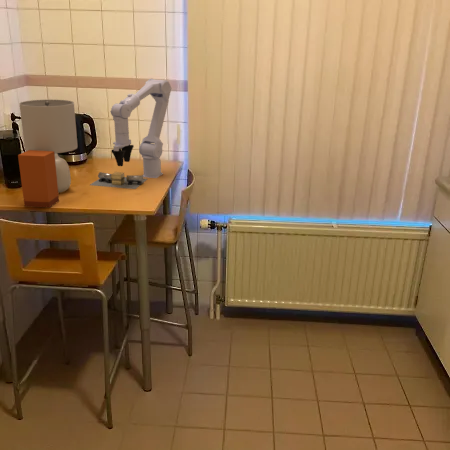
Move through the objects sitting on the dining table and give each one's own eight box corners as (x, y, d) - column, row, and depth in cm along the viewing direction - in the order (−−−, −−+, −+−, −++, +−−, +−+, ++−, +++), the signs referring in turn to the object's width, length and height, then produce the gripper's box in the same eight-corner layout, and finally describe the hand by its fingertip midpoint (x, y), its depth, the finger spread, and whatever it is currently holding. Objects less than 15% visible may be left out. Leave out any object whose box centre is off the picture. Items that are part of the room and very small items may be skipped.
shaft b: (126, 186, 216) (126, 176, 215) (127, 183, 220) (127, 174, 218) (142, 186, 217) (142, 176, 215) (143, 183, 220) (143, 174, 219)
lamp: (28, 199, 196) (16, 105, 183) (32, 185, 214) (21, 98, 201) (81, 196, 201) (73, 104, 188) (81, 182, 219) (73, 97, 206)
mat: (104, 176, 229) (104, 175, 229) (147, 180, 226) (147, 178, 226) (89, 186, 215) (89, 185, 214) (135, 190, 211) (135, 188, 211)
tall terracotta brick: (59, 200, 196) (54, 150, 189) (49, 208, 188) (44, 156, 181) (35, 198, 197) (29, 149, 190) (24, 206, 189) (17, 155, 181)
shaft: (115, 182, 221) (115, 173, 219) (110, 184, 217) (109, 175, 216) (103, 180, 224) (102, 171, 222) (97, 182, 220) (96, 173, 219)
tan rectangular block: (115, 181, 220) (115, 171, 218) (124, 182, 219) (124, 172, 218) (111, 184, 216) (111, 174, 214) (121, 185, 215) (120, 175, 214)
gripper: (119, 128, 217) (121, 159, 222) (105, 135, 204) (108, 167, 209) (135, 129, 216) (136, 160, 221) (122, 136, 203) (123, 168, 208)
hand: (123, 163), depth 215 cm, fingers open, 7 cm apart
